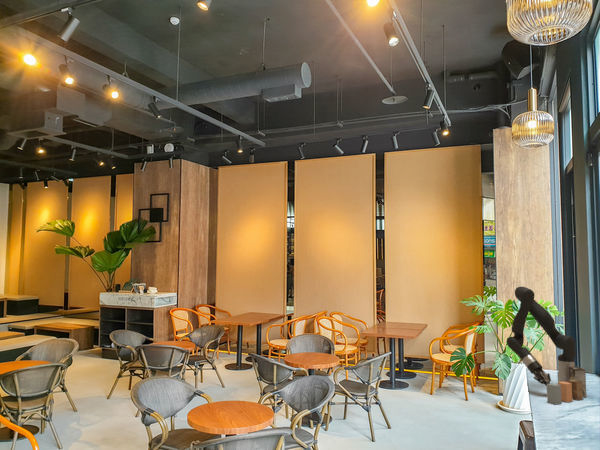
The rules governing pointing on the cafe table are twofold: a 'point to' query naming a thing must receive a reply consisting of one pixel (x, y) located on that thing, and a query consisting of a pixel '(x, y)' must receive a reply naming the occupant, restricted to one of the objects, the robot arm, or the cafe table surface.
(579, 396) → the walnut block
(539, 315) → the robot arm
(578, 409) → the cafe table surface
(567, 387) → the terracotta block
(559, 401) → the slate block
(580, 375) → the coffee box
